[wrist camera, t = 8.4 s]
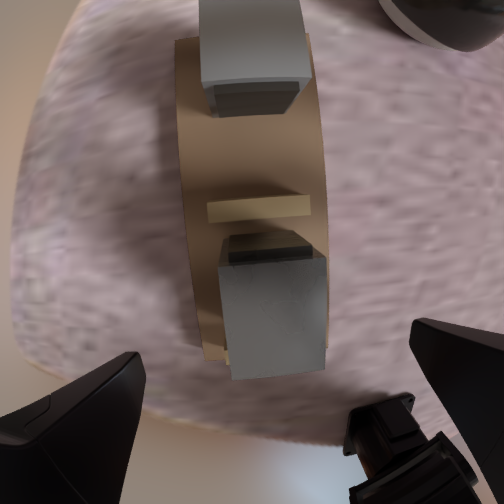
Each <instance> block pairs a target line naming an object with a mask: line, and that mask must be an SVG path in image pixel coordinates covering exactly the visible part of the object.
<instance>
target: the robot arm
mask: <svg viewBox="0 0 504 504" xmlns="http://www.w3.org/2000/svg"><path fill="white" fill-rule="evenodd" d="M409 345H410V348H411V350H412V352H413V354H414V356H415V358H416V360H417V362H418V364H419V366H420V368H421V370H422V371H423V373H424V375H425V377H426V379H427V381H428V382H429V384H430V385H431V387H432V388H433V390H434V392H435V393H436V395H437V396H438V398H439V399H440V401H441V403H442V404H443V406H444V407H445V409H446V411H447V412H448V414H449V415H450V417H451V419H452V420H453V422H454V424H455V425H456V427H457V429H458V430H459V432H460V434H461V436H462V437H463V439H464V441H465V442H466V444H467V446H468V448H469V449H470V451H471V453H472V455H473V457H474V458H475V460H476V462H477V464H478V466H479V467H481V468H480V470H481V472H482V473H483V475H484V477H485V479H486V481H487V483H488V485H489V487H490V489H491V491H492V493H493V495H494V497H495V499H496V501H497V503H498V504H504V334H499V333H494V332H489V331H484V330H479V329H475V328H470V327H465V326H460V325H456V324H451V323H446V322H442V321H437V320H433V319H428V318H419V319H415V320H414V321H413V322H412V326H411V332H410V339H409ZM145 383H146V373H145V370H144V366H143V363H142V359H141V356H140V354H139V353H138V352H125V353H123V354H121V355H119V356H118V357H116V358H114V359H112V360H111V361H109V362H107V363H105V364H103V365H102V366H100V367H98V368H96V369H95V370H93V371H91V372H89V373H87V374H86V375H84V376H82V377H80V378H78V379H76V380H75V381H73V382H71V383H69V384H67V385H66V386H64V387H62V388H60V389H58V390H56V391H54V392H53V393H51V395H47V396H45V397H43V398H42V399H40V400H38V401H36V402H34V403H32V404H30V405H28V406H25V407H23V408H21V409H19V410H16V411H14V412H12V413H9V414H7V415H5V416H2V417H0V504H119V501H120V497H121V492H122V488H123V483H124V479H125V475H126V471H127V466H128V463H129V458H130V455H131V451H132V447H133V443H134V439H135V435H136V431H137V428H138V424H139V420H140V416H141V409H142V402H143V396H144V389H145ZM414 401H415V396H414V395H413V394H408V395H405V396H402V397H399V398H395V399H392V400H389V401H385V402H381V403H378V404H374V405H370V406H366V407H362V408H358V409H354V410H352V411H351V412H350V414H349V419H348V425H347V431H346V437H345V442H344V447H343V454H344V456H349V455H354V454H357V455H358V458H359V460H360V462H361V464H362V467H363V469H364V471H365V474H366V476H367V478H368V480H367V481H365V482H363V483H361V484H359V485H357V486H353V487H351V488H349V493H350V496H349V500H350V504H482V503H481V501H480V499H479V498H478V496H477V495H476V493H475V491H474V490H473V488H472V487H473V486H475V485H476V484H477V483H478V478H477V476H476V474H475V472H474V471H473V469H472V467H471V466H470V464H469V463H468V462H467V460H466V459H465V458H464V456H463V455H462V454H461V453H460V451H459V450H458V449H457V448H456V447H455V446H454V445H453V443H452V442H451V441H450V440H449V439H448V438H447V437H446V435H445V434H444V433H443V432H442V431H440V432H438V433H437V434H436V436H435V437H433V438H432V439H431V440H428V439H427V438H426V436H425V435H424V433H423V432H422V430H421V429H420V425H419V424H418V423H417V421H416V420H415V418H414V417H413V416H412V414H411V411H412V408H413V405H414ZM355 414H356V415H355Z"/></svg>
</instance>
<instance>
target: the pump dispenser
mask: <svg viewBox="0 0 504 504" xmlns="http://www.w3.org/2000/svg"><path fill="white" fill-rule="evenodd" d="M378 1H379V3H380V5H381V6H382V8H383V9H384V11H385V12H386V14H387V15H388V16H389V17H390V19H391V20H392V21H393V22H394V23H395V24H396V25H397V26H398V27H399V28H401V29H402V30H403V31H404V32H405V33H407V34H408V35H410V36H411V37H413V38H414V39H416V40H418V41H419V42H421V43H423V44H426V45H428V46H430V47H433V48H437V49H441V50H448V51H462V52H473V51H477V50H479V49H481V48H483V47H485V46H487V45H489V44H490V43H492V42H493V41H494V40H496V39H497V38H499V37H500V36H501V35H503V34H504V0H378Z"/></svg>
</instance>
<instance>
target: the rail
mask: <svg viewBox="0 0 504 504" xmlns="http://www.w3.org/2000/svg"><path fill="white" fill-rule="evenodd" d="M199 33H200V37H193V38H186V39H179V40H175V88H176V113H177V132H178V148H179V162H180V175H181V186H182V197H183V208H184V217H185V227H186V235H187V244H188V252H189V260H190V268H191V275H192V283H193V290H194V297H195V303H196V310H197V316H198V323H199V329H200V335H201V341H202V346H203V352H204V358H205V361H215V360H225V361H226V365H230V363H229V356H228V349H227V341H226V334H225V326H224V318H223V310H222V302H221V293H220V285H219V276H218V263H219V258H220V253H221V248H222V243H223V239H225V238H229V236H230V235H238V234H249V233H261V232H273V231H285V230H293V231H295V232H296V233H297V234H299V235H300V236H301V237H303V238H304V239H305V240H307V241H308V242H309V243H311V244H312V245H313V247H314V248H315V249H317V250H318V251H319V252H320V253H322V254H323V255H324V256H325V257H327V321H326V348H328V331H329V237H328V210H327V191H326V175H325V162H324V150H323V138H322V128H321V119H320V109H319V101H318V93H317V85H316V78H315V71H314V64H313V57H312V51H311V45H310V39H309V33H305V28H304V23H303V17H302V12H301V7H300V2H299V0H199Z"/></svg>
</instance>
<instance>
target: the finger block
mask: <svg viewBox="0 0 504 504" xmlns="http://www.w3.org/2000/svg"><path fill="white" fill-rule="evenodd" d="M218 276H219V285H220V293H221V302H222V310H223V318H224V326H225V334H226V341H227V349H228V356H229V363H230V371H231V377H232V380H245V379H256V378H266V377H275V376H283V375H291V374H298V373H305V372H312V371H318V370H324V369H325V353H326V321H327V257H325V256H324V255H323V254H322V253H320V252H319V251H318V250H317V249H315V248H314V247H313V245H312V244H311V243H309V242H308V241H307V240H305V239H304V238H303V237H301V236H300V235H299V234H297V233H296V232H295V231H293V230H285V231H273V232H261V233H249V234H238V235H230V236H229V238H225V239H223V243H222V248H221V253H220V258H219V263H218Z"/></svg>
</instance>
